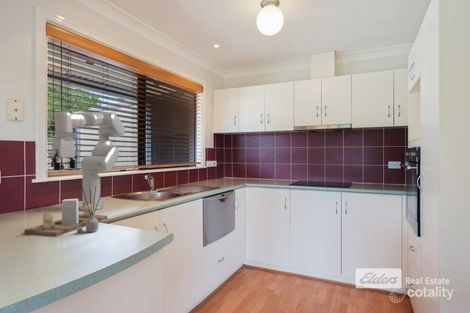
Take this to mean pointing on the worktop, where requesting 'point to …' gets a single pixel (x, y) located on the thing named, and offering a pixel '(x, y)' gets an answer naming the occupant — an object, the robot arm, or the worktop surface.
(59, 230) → the walnut rail
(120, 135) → the robot arm
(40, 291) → the worktop surface
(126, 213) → the worktop surface
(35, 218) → the worktop surface
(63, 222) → the skincare box
